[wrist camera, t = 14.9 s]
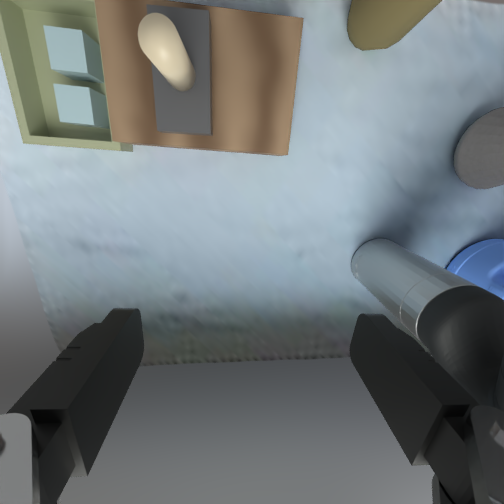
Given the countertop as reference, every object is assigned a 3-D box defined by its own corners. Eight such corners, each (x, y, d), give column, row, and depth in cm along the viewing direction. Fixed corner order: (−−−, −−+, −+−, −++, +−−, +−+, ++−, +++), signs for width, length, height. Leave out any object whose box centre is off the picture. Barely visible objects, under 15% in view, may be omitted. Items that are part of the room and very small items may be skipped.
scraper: (211, 24, 26) (196, -60, 16) (212, 135, 30) (201, 123, 20) (154, 18, 25) (103, -71, 16) (163, 133, 29) (127, 119, 19)
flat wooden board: (291, 43, 32) (303, 18, 26) (279, 155, 37) (287, 154, 31) (119, 22, 30) (93, -10, 24) (132, 144, 35) (112, 141, 29)
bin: (118, 12, 29) (102, -9, 26) (132, 151, 35) (120, 150, 31) (14, -1, 28) (-19, -25, 25) (46, 145, 34) (23, 143, 30)
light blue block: (89, 87, 28) (53, 83, 28) (93, 125, 30) (59, 121, 29) (105, 96, 32) (74, 92, 32) (109, 128, 33) (79, 125, 33)
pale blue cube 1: (81, 30, 26) (43, 25, 26) (87, 73, 28) (51, 68, 27) (100, 46, 30) (67, 42, 30) (105, 83, 32) (73, 79, 31)
